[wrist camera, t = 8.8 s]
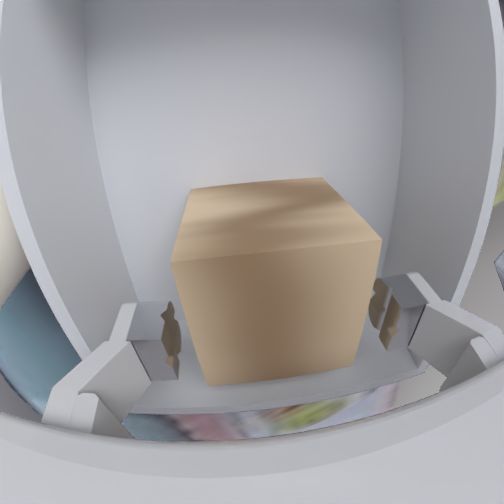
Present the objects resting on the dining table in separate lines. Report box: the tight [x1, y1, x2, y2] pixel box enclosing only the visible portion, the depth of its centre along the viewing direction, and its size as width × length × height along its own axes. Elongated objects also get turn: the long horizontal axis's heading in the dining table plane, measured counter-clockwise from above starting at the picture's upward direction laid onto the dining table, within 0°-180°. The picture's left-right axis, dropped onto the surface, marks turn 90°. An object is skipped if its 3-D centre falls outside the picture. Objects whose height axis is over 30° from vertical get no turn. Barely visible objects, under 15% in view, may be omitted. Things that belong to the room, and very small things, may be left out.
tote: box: [0, 0, 504, 414], centre depth 8 cm, size 17×13×6 cm
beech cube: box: [170, 177, 382, 386], centre depth 10 cm, size 5×5×5 cm
